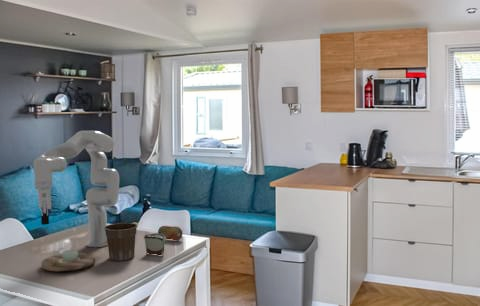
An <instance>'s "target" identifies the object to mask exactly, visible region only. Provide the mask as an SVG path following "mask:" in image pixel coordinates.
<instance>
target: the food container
mask: <svg viewBox="0 0 480 306" xmlns="http://www.w3.org/2000/svg"><path fill="white" fill-rule="evenodd" d="M143 240H144V241H145V250H146V254H147V253H149V254H157V255H163V254H164V255H165V240H166V237H165V235H164V234H159V233H158V232H157V233H146V234H144V236H143ZM164 255H163V256H164Z"/></svg>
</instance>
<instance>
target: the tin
mask: <svg viewBox="0 0 480 306" xmlns="http://www.w3.org/2000/svg"><path fill="white" fill-rule="evenodd" d="M157 233H159V234H164V235H165V237H166V239H173V240H178V241H180V240H182V238H183V230H182V229H181V228H180V227H179V226H175V225H174V226H173V225H162V226H160V227H159V228H158V230H157Z"/></svg>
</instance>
